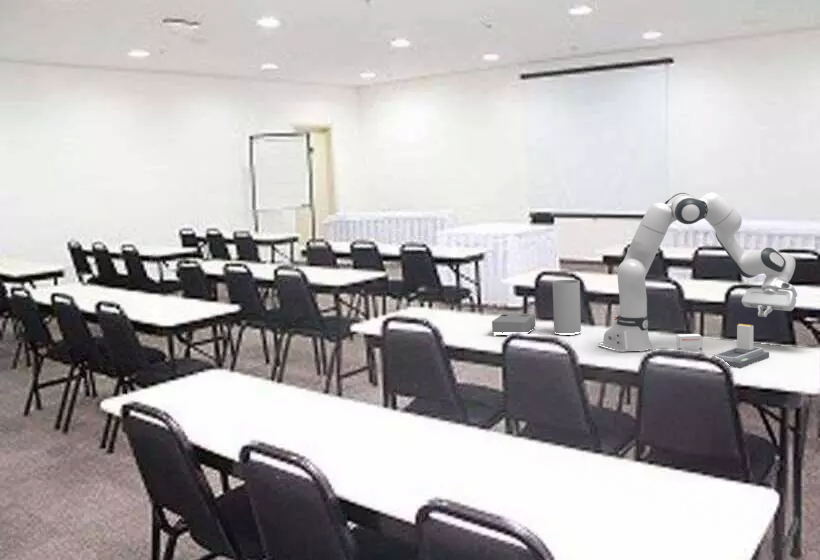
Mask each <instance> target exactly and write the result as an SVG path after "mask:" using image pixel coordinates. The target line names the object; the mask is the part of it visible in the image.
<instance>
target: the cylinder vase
mask: <svg viewBox="0 0 820 560" xmlns="http://www.w3.org/2000/svg"><path fill="white" fill-rule="evenodd" d="M580 284H581V281H580V280H577V279H559V280H553V281H552V301H553V302H552V304H553V307H552V309H553V332H556V333H575V332H580V331H581V332H582V327H581V326H582V324H581V322H582V321H581V317H582V315H581V289H580V288H581V287H580V286H581V285H580Z"/></svg>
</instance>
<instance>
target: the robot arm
mask: <svg viewBox="0 0 820 560" xmlns="http://www.w3.org/2000/svg"><path fill="white" fill-rule="evenodd" d="M704 219H705V221H706V222H707V223H708V224H709V225H710V226H711V227H712V228H713V230H714V232H715V237H716V241H718V243H719V245H720V247H722V248H723V250H724V251H725V252H726V254H727V255H728V257H729V258H730V259H731V261H732V262H733V264H734V266H735V268H736V270H737V272H738V273H739V274H740V276H742V277H744V278H747V279H752V278H754V277H757V276H759V275H762V274H764V275H765V278H764V280H763V283H762V285H761V286H760V287H759V286H758V287H757V286H751V287H749V288H747V290H746V291H745V292H744V295H743V296H742V298H741V303H742V305H743V306H744V307H745V308H756V309H757V310H758V312H757V316H758V317H761V318H763V317H764V318H767V316H768V314H769V315H770V313H771V312H772V311H773V310H777V311H783V312H784V311H786V312H792V311H793V310H794V309H795V307H796V303H797V297H798V293H797V290H796V288H795V287H794V286H793V284H791V283H789V282H790V281H791V279H792V277H793V275H794V272H795V269H796V259H795V258H794V257H793V256H792V254H789V253H786V252H778V250H776V249H774V248H772V247H765V248H761V249H758V250H756V251H752V252H747V251H745V250H744V249H743V248H742V247H741V245H740V243H739V242H738V241H737V240H736V237H735V235H736V234H737V232H738V231H739V229H741V227H742V224H743V223H742V222H743V221H742V220H743V219H742V216H741V214H740V212H739V211H738V210H737V209H736V207H734V205H732V203H730V202H729V201H728V200H726V199H725V198H724V197H723V196H721V195H720V194H718V193H717V192H711V191H710V192H707V193H706V194H704V195H702V196H701V197H700V198H696V197H695V196H693V195H691V194H689V193H686V192H680V193H676V194H674V195H672V196H671V197H670V198H669V199H668V200H665V202H653V203H652V204H651V205H650V207H648V210H647V211H646V213H644V216H643V218H642V219H641V221H640V223H639V225H638V228H637V229H636V231H635V233H634V235H633V238H632V239H631V243H630V245H629V248H627V249H628V250H627V252H626V254H625V256H624V259H623V260H622V262H621V263H620V264H619V266H618V267H617V272H616V273H617V274H616V275H617V285H618V294H619V315H618V316H615V317H614V321H616V323H615V324H614V325H613V326H612V327H610V328H608V330H606V331H605V332H604V335H603V340H602V342H599V343H598V344H597V346H598V345H601V346H605V347H608V348H612V349H615V350H618V351H639V350H646V349H650V348H651V349H652V346H651V342H650V341H651V340H650V338H649V337H650V336H649V330H648V328H649V315H648V297H647V285H646V276H647V274H648V272H649V270H650V268H651V267H652V264H653V262H654V260H655V257H656V256H657V255H656V254H657V252H658V250H659V248H660V246H661V244H662V242H663V240H664V238H665V236H666V234H667V232H668V229H669V228H670V226H671V225H672V224H673V223H674V222H676V221H678V222H680V223H681V224H683V225H692V224H695V223H698V222H699V221H701V220H704ZM764 309H765V310H764ZM600 343H603V344H600ZM651 349H650V350H651ZM618 351H617V352H618Z"/></svg>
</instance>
